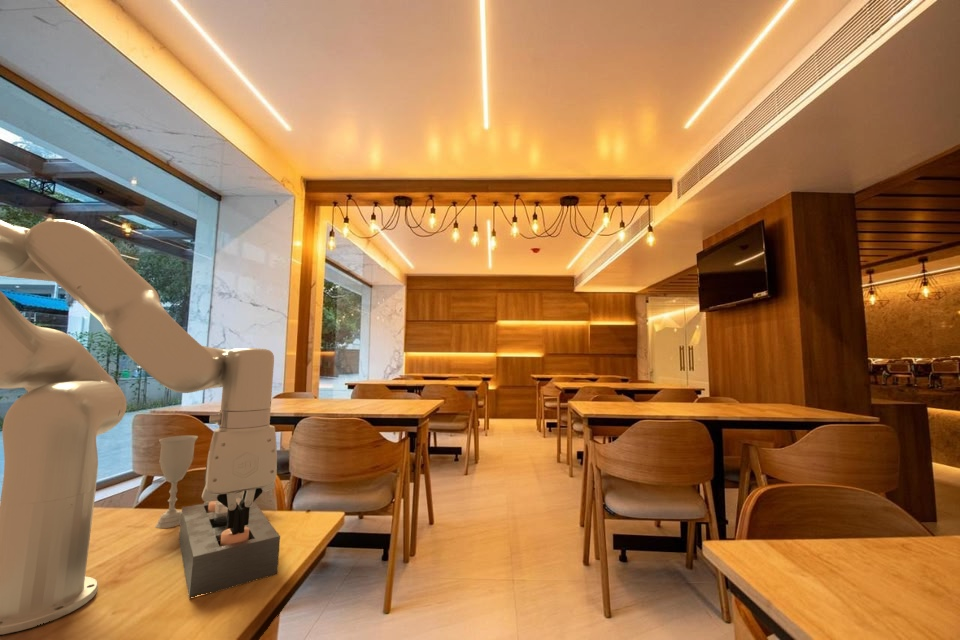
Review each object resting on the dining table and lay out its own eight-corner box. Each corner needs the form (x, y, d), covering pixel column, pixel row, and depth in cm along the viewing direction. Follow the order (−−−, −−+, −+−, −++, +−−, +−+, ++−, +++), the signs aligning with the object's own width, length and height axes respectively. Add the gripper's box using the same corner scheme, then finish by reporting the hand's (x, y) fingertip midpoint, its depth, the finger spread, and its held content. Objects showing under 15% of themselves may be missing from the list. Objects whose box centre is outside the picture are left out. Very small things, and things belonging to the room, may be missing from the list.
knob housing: (189, 599, 59) (193, 556, 60) (178, 538, 79) (181, 507, 80) (277, 573, 67) (280, 536, 67) (247, 524, 87) (249, 495, 87)
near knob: (221, 558, 64) (223, 538, 64) (218, 549, 67) (219, 530, 67) (249, 551, 66) (251, 532, 67) (245, 542, 69) (246, 524, 70)
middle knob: (215, 523, 71) (217, 506, 71) (212, 516, 74) (214, 500, 74) (241, 518, 73) (242, 501, 74) (237, 512, 76) (239, 495, 77)
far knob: (208, 522, 77) (209, 506, 78) (206, 516, 81) (207, 501, 81) (232, 518, 80) (233, 502, 80) (229, 512, 83) (230, 497, 83)
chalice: (172, 530, 83) (181, 441, 85) (140, 529, 83) (149, 441, 85) (197, 517, 90) (205, 435, 92) (168, 516, 90) (176, 435, 92)
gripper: (194, 426, 61) (183, 552, 59) (297, 418, 71) (290, 527, 69) (190, 420, 67) (180, 535, 65) (286, 414, 77) (279, 514, 75)
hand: (236, 531), depth 67 cm, fingers closed
